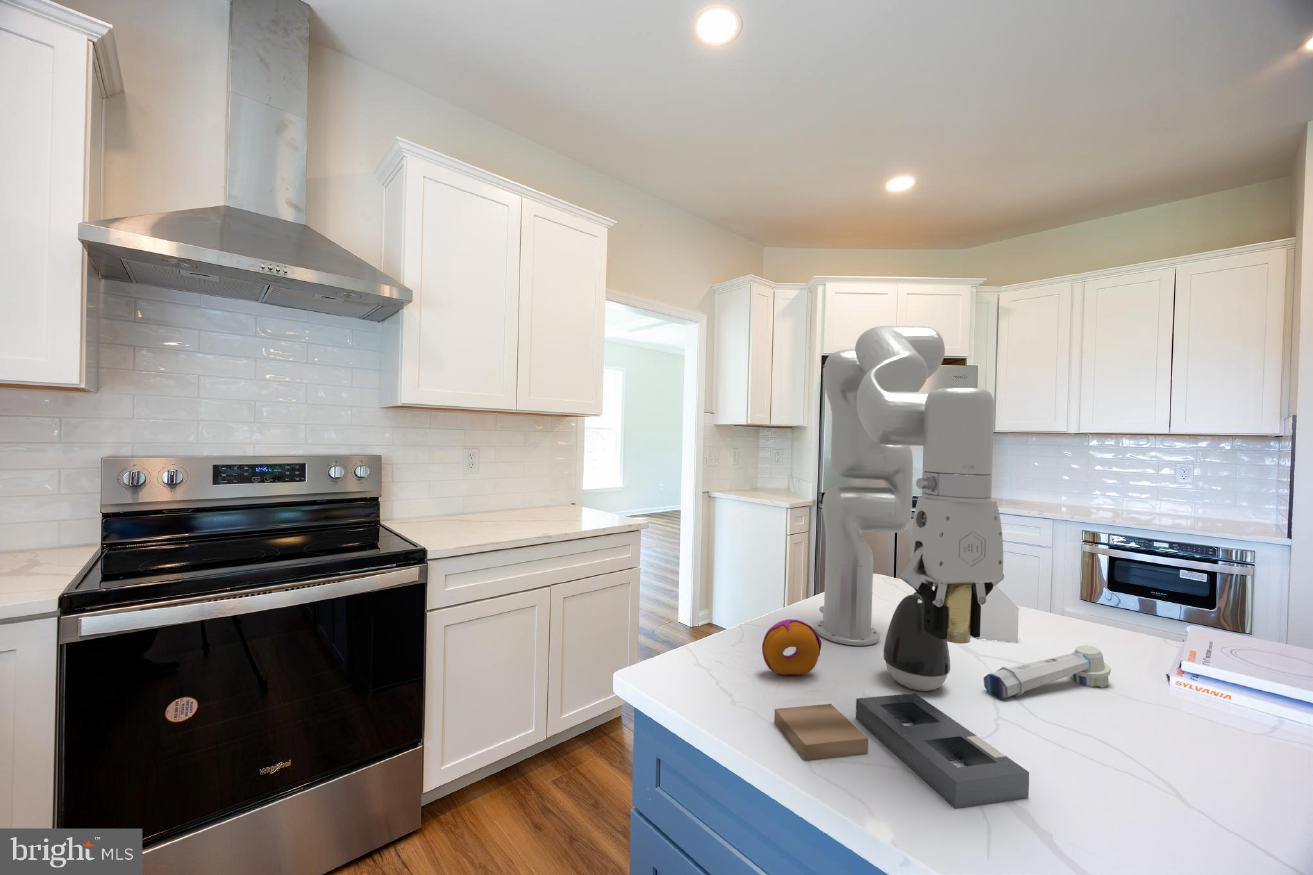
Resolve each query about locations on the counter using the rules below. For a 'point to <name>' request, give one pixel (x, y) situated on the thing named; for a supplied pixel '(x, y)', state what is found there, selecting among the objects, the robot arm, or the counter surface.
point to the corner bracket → (999, 618)
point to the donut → (791, 636)
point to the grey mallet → (1050, 673)
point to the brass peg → (958, 612)
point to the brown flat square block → (820, 732)
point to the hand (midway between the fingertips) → (951, 633)
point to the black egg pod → (915, 648)
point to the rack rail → (942, 751)
